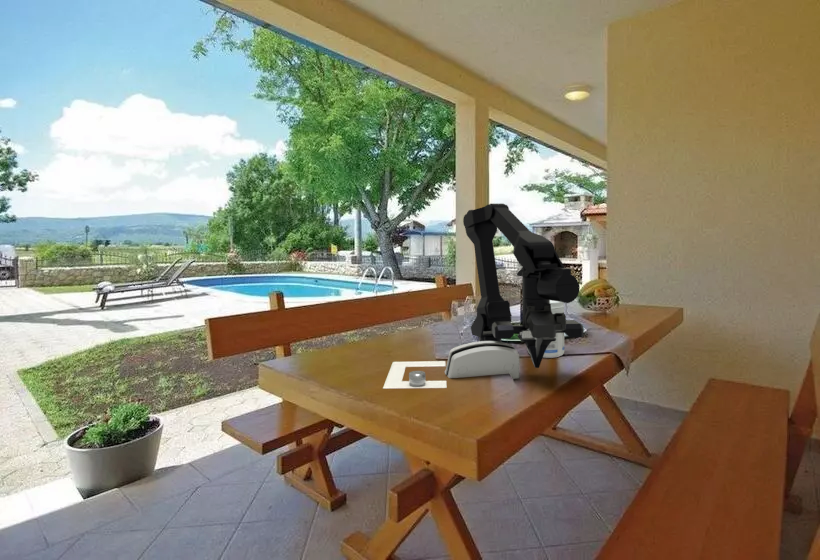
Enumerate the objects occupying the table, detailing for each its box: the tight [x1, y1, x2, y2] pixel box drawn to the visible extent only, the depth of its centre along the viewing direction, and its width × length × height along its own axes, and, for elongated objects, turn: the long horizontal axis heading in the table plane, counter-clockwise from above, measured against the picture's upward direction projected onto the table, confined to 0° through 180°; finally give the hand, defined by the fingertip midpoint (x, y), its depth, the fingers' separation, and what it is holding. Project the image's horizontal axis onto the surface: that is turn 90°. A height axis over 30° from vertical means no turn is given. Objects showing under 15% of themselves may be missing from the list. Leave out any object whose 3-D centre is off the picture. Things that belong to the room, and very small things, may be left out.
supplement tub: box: [527, 300, 565, 359], centre depth 116 cm, size 10×10×15 cm
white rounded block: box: [444, 340, 520, 380], centre depth 96 cm, size 17×5×10 cm, turn 99°
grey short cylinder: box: [408, 370, 427, 387], centre depth 90 cm, size 3×3×2 cm
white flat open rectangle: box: [382, 360, 447, 390], centre depth 98 cm, size 20×13×2 cm, turn 176°
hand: (536, 367), depth 96 cm, fingers closed
